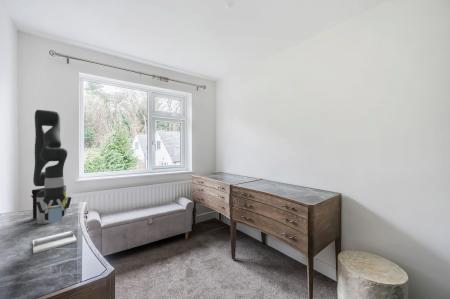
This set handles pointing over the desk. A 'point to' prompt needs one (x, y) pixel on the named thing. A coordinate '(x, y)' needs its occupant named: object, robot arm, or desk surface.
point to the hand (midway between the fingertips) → (54, 218)
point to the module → (54, 214)
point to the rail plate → (53, 241)
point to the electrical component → (36, 200)
